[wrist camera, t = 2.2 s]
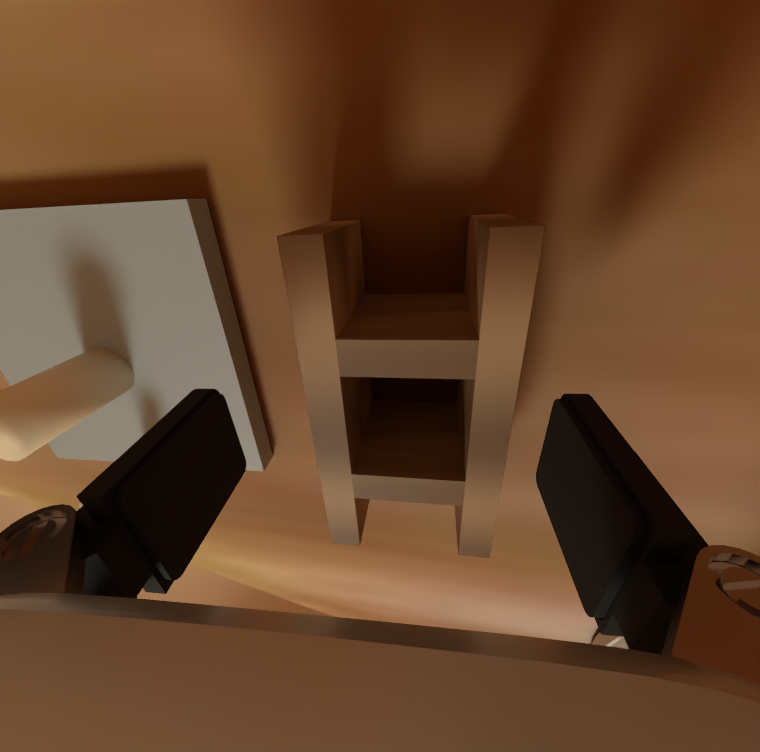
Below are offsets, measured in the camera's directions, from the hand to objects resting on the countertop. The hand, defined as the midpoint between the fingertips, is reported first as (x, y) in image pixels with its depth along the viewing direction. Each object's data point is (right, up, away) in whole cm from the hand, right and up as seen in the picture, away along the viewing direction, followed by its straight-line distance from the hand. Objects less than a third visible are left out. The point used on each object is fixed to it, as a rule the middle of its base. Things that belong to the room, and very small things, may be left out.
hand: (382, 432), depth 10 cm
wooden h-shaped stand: (+1, +2, +5) cm, 6 cm away
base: (-13, +2, +8) cm, 15 cm away
